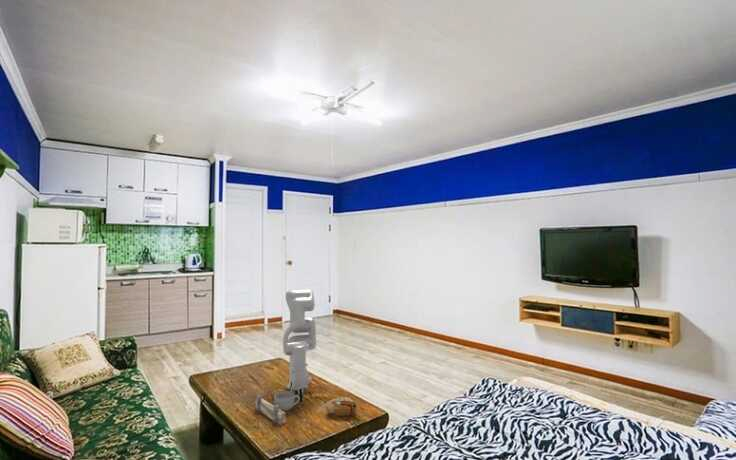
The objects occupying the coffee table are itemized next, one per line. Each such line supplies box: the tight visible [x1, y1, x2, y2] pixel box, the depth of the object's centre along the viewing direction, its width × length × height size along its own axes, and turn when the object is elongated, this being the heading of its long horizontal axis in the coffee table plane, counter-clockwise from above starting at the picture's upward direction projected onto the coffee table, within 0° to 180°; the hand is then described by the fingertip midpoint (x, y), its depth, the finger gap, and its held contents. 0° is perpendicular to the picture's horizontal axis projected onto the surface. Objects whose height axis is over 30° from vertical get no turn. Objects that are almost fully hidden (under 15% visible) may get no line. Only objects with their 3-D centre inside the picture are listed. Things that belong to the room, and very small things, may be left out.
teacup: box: [273, 390, 300, 412], centre depth 200 cm, size 14×11×8 cm
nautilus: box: [324, 396, 360, 420], centre depth 192 cm, size 8×22×15 cm
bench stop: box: [255, 394, 287, 426], centre depth 193 cm, size 4×26×8 cm, turn 43°
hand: (299, 401), depth 205 cm, fingers closed
